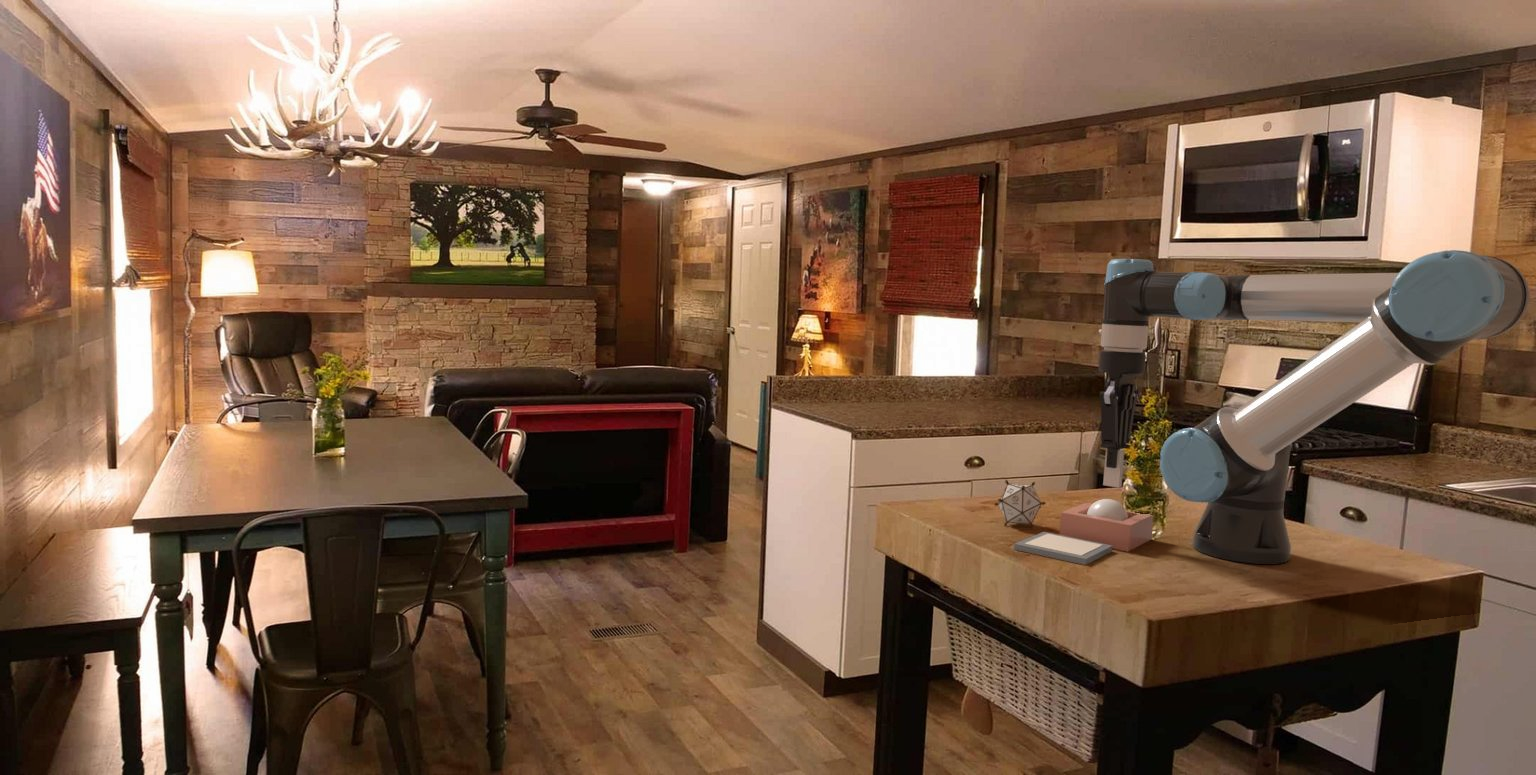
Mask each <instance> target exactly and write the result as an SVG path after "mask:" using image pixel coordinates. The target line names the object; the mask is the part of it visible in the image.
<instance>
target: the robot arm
mask: <svg viewBox="0 0 1536 775" xmlns="http://www.w3.org/2000/svg"><path fill="white" fill-rule="evenodd" d="M1103 286H1104V292H1103V295H1104V296H1103V311H1102V312H1103V313H1102V321H1101V322H1102V324H1101V328H1100V329H1098V333H1099V335H1101V336H1100V346H1101V347H1102V348H1103V349H1101V350H1100V351H1099V356H1098V357H1099V358H1098V370H1099V371H1100V372H1101V373H1107V375H1108V376H1107V379H1106V383H1105V385H1104V391H1099V401H1100V431H1101V432H1100V433H1101V434H1100V435H1101V437H1100V438H1101V439H1100V440H1101V444H1100V448H1103V449H1105V457H1104V466H1103V467H1104V468H1103V483H1102V486H1106V487H1113V488H1121V487H1122V485H1123V475H1124V474H1123V471H1124V462H1125V461H1124V459H1125V449H1126V450H1130V449H1131V445H1130V442H1131V435H1132V429H1133V422H1134V417H1135V416H1134V415H1135V410H1136V404H1137V400H1138V396H1139V393H1140V392H1139V389H1138V388H1136V385H1135V376H1134V375H1143V374H1144V373H1145V371H1146V370H1145V368H1146V357H1147V354H1146V353H1145V352H1144V350H1146V349H1147V347H1148V337H1149V336H1148V334H1149V320H1150V317H1153V318H1157V317H1158V318H1169V319H1170V318H1171V319H1185V320H1190V321H1194V320H1195V321H1201V320H1221V321H1236V320H1237V321H1248V320H1249V321H1285V322H1286V321H1288V322H1289V321H1290V322H1294V321H1295V322H1327V323H1329V322H1331V323H1333V322H1334V323H1335V322H1337V323H1358V324H1357V325H1355V326H1353V327H1352V328H1351V329H1349V330H1348V331H1347V332H1345V333H1344V334H1342V335H1341V336H1339V337H1338V338H1336V339H1335V340H1334V341H1333V342H1331V343H1330V344H1328V345H1326V346H1325V347H1324V348H1322V349H1321V350H1319V351H1318V352H1316V353H1315V354H1313V355H1312V356H1311V357H1310V358H1308V359H1307V360H1305V361H1304V362H1302V363H1301V364H1300V365H1298V366H1297V367H1295V368H1294V369H1292V370H1291V371H1289V372H1288V373H1286V375H1284V376H1282V377H1281V378H1280V379H1278V380H1277V381H1275V382H1274V383H1273V384H1271V385H1270V386H1268V387H1267V388H1265V389H1264V390H1263V391H1261V392H1260V393H1258V394H1256V395H1255V396H1254V397H1253V398H1251V399H1250V400H1248V401H1247V402H1246V403H1244V404H1242V405H1241V406H1240V407H1239V408H1236V407H1230V406H1223V407H1221V408H1220V409H1218V410H1217V411H1215V412H1214V413H1213V414H1212V415H1211V414H1210V416H1208V417H1207V418H1205V419H1204V420H1203V421H1201V422H1200V423H1199V424H1197V425H1195V426H1193V427H1186V428H1182V429H1179V430H1178V431H1176V432H1174V433H1172V434H1170V436H1169V437H1167V439H1166V440H1165V441H1164V442H1163V445H1162V447H1161V450H1160V457H1159V458H1160V459H1159V469H1160V473H1161V476H1162V479H1163V481H1164V483H1165V485H1166V486H1167V487H1168V488H1169V489H1170V490H1171V492H1172V493H1173V494H1174V495H1176V496H1177V497H1179V498H1180V499H1183V500H1184V501H1188V502H1191V503H1207V504H1206V506H1205V509H1204V511H1203V512H1202V515H1201V518H1200V519H1199V521H1198V523H1197V525H1196V528H1195V530H1194V533H1193V538H1192V548H1194V549H1195V550H1196V551H1199V552H1200V553H1202V554H1206V555H1208V556H1212V557H1215V558H1218V559H1219V558H1220V559H1223V560H1228V561H1234V562H1238V563H1239V562H1240V563H1246V564H1254V565H1255V564H1257V565H1279V564H1278V563H1281V564H1284V563H1283V562H1285V563H1287V562H1286V561H1288V560H1289V559H1291V552H1292V547H1291V546H1292V545H1291V542H1290V538H1289V537H1290V536H1289V532H1288V529H1287V525H1286V520H1285V516H1284V506H1285V505H1284V504H1285V498H1286V489H1287V482H1288V475H1289V474H1288V472H1289V467H1290V466H1289V464H1290V455H1291V450H1292V447H1293V445H1292V443H1294V442H1295V441H1297V440H1298V439H1300V438H1302V437H1303V436H1305V435H1306V434H1308V433H1309V432H1311V431H1312V430H1314V429H1315V428H1317V427H1318V426H1320V425H1321V424H1323V423H1325V422H1326V421H1327V420H1329V419H1331V418H1333V417H1334V416H1336V415H1337V414H1338V413H1339V412H1342V411H1343V410H1344V409H1346V408H1348V407H1349V406H1351V405H1352V404H1354V403H1356V402H1357V401H1359V400H1360V399H1361V398H1363V397H1365V396H1366V395H1368V394H1369V393H1370V392H1372V391H1374V390H1375V389H1377V388H1378V387H1380V386H1381V385H1383V384H1384V383H1386V382H1387V381H1389V380H1390V379H1392V378H1394V377H1395V376H1397V375H1398V374H1400V373H1401V372H1403V371H1405V370H1406V369H1407V368H1409V367H1410V366H1411V367H1412V365H1413V364H1421V365H1426V366H1427V365H1428V366H1433V365H1435V364H1436V363H1438V362H1440V361H1441V360H1442V359H1445V358H1446V357H1448V356H1449V355H1451V354H1452V353H1454V352H1455V351H1457V350H1458V349H1460V348H1462V347H1463V346H1465V345H1466V344H1468V343H1470V342H1471V341H1474V340H1476V341H1477V340H1487V339H1491V338H1495V337H1498V336H1501V335H1503V334H1505V333H1506V332H1509V331H1510V330H1512V328H1514V327H1515V326H1516V325H1518V323H1519V322H1520V321H1521V320H1522V318H1523V317H1524V316H1525V314H1526V311H1527V310H1528V308H1529V307H1528V306H1529V303H1530V294H1531V293H1530V287H1529V284H1528V282H1527V279H1526V278H1525V275H1524V274H1523V273H1522V272H1521V271H1520V270H1519V268H1517V267H1516V266H1514V265H1513V264H1512V263H1511V262H1508V261H1507V260H1505V259H1502V258H1498V257H1495V256H1492V255H1491V256H1490V255H1481V254H1476V253H1473V252H1470V251H1467V250H1466V251H1465V250H1456V249H1453V250H1452V249H1451V250H1442V251H1437V252H1431V253H1428V254H1425V255H1422V256H1420V257H1418V258H1415V259H1413V261H1411V262H1409V263H1408V264H1407V265H1405V266H1404V267H1403V268H1402V269H1401V270H1400V271H1399V272H1374V273H1373V272H1372V273H1371V272H1370V273H1369V272H1368V273H1367V272H1365V273H1363V272H1361V273H1360V272H1359V273H1306V274H1305V273H1304V274H1303V273H1298V274H1293V273H1291V274H1215V273H1211V272H1204V271H1191V272H1190V271H1187V272H1186V271H1170V272H1169V271H1155V269H1154V264H1153V260H1152V261H1151V260H1150V259H1140V258H1139V259H1137V258H1130V259H1129V258H1115V259H1111V260H1110V261H1109V262H1108V263H1107V266H1106V274H1105V281H1104V284H1103ZM1289 561H1290V560H1289ZM1289 561H1288V562H1289Z"/></svg>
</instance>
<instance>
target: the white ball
mask: <svg viewBox="0 0 1536 775" xmlns="http://www.w3.org/2000/svg"><path fill="white" fill-rule="evenodd" d="M1125 509H1126V508H1125V507H1124V505H1122V503H1120V502H1119V501H1118V500H1114V499H1111V498H1103V499H1099V500H1096V501H1095V502H1093V504H1092V505H1091V506H1090V508H1089V509H1088V511H1087V515H1092V516H1098V517H1103V518H1108V519H1114V520H1119V521H1124V520H1126V519H1128V514H1127V511H1126V510H1127V509H1126V510H1125Z"/></svg>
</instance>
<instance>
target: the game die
mask: <svg viewBox="0 0 1536 775" xmlns="http://www.w3.org/2000/svg"><path fill="white" fill-rule="evenodd" d="M1004 483H1005V484H1006V486H1005V488H1004V490H1003V492H1002V494H1001V497H1000V498H998V499H997V501H998V502H995V503H994V504H993V505H994V506H995V507H997V506H998V507H999V509H1000V511H1001V513H1002V516H1003V518H1004V520H1005V522H1004V523H1003V527H1006V526H1008V524H1019V525H1020V524H1021V525H1022V524H1023V525H1030V528H1032V529H1034V528H1035V525H1034V524H1033V523H1034V520H1035V518H1036V516H1037V514H1038V512H1039V510H1040V509H1041V508H1042V507H1041V506H1042V505H1044V506H1045V505H1046V504H1047V502H1045V501H1041V499H1040V497H1039V495H1038V493H1037V491H1036V489H1035V488H1034V486H1035V485H1036V481H1033V482H1031V484H1020V483H1010V482H1009V481H1008V479H1005V480H1004Z"/></svg>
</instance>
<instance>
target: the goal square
mask: <svg viewBox="0 0 1536 775" xmlns="http://www.w3.org/2000/svg"><path fill="white" fill-rule="evenodd" d="M1013 546H1014V547H1013V550H1014V551H1018V550H1019V551H1018V552H1022V551H1023V553H1028V554H1033V555H1038V556H1041V557H1047V558H1051V559H1056V560H1059V561H1064V562H1069V563H1074V564H1078V565H1083V566H1086V565H1089V564H1090V563H1092V562H1094V561H1096V560H1098V559H1100V558H1102V557H1104V556H1106V555H1108V554H1110V553H1112V552H1113V549H1112V545H1107V544H1102V543H1097V542H1092V541H1087V540H1082V539H1078V538H1073V537H1068V536H1063V535H1059V533H1053V532H1046V531H1042V532H1040V533H1038V534H1035V535H1033V536H1030V537H1027V538H1025V539H1023V540H1021V541H1018V542H1016V543H1014V544H1013Z"/></svg>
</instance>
